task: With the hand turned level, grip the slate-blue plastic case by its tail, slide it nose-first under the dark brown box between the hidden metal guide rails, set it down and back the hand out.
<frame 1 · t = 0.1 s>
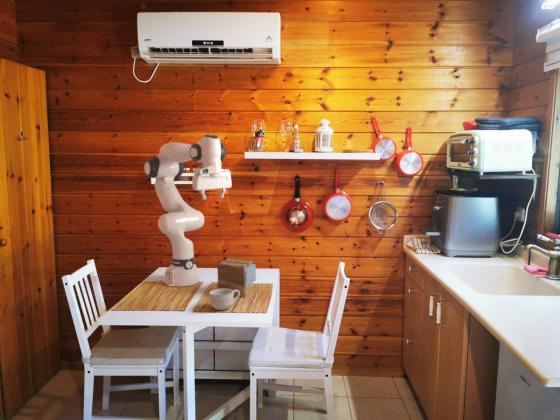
hand: (213, 198, 211), 48 cm above the table, tool pointing down, fingers open, 8 cm apart
dark brown box: (241, 288, 229), on the table
case: (248, 283, 238), on the table
teacup: (225, 308, 202), on the table
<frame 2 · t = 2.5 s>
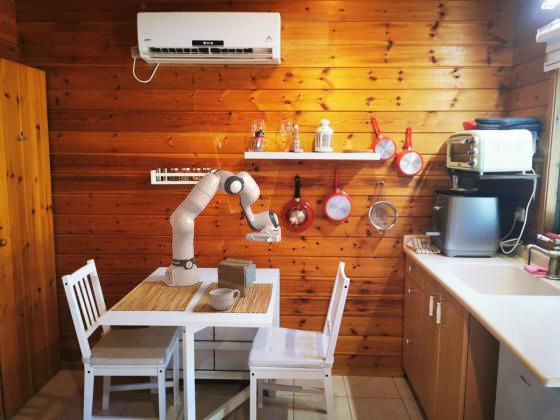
hand: (258, 240, 250), 21 cm above the table, tool horizontal, fingers open, 8 cm apart
nothing on the table moved.
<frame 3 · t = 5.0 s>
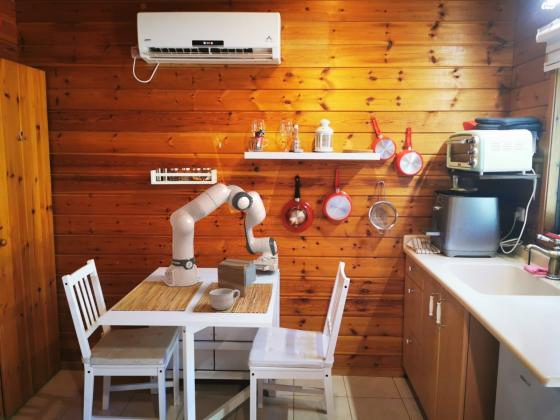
hand: (255, 268, 249), 5 cm above the table, tool horizontal, fingers open, 8 cm apart
nothing on the table moved.
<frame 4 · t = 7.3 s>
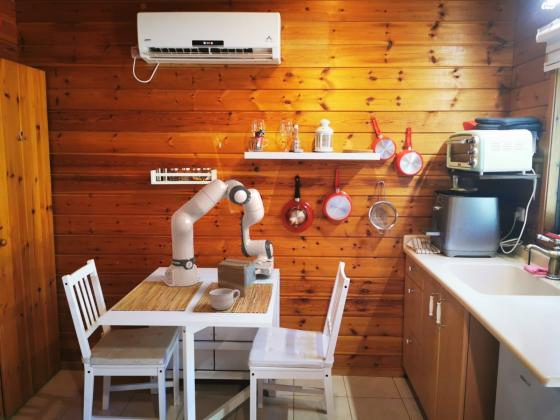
hand: (250, 272, 240), 5 cm above the table, tool horizontal, fingers closed on case, 3 cm apart
case: (248, 283, 238), on the table, touching gripper
everything else where it was.
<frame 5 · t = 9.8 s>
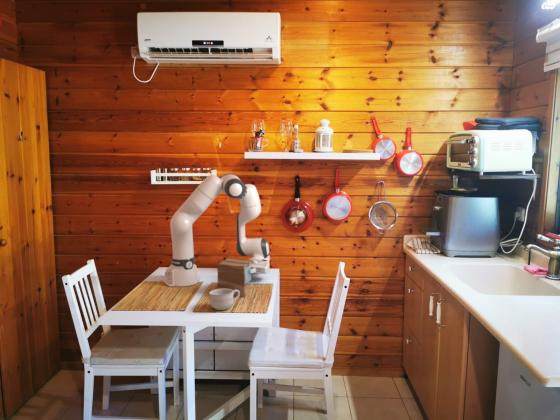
hand: (245, 271, 234), 7 cm above the table, tool horizontal, fingers closed on case, 3 cm apart
case: (243, 283, 232), point 2 cm above the table, touching gripper
everything else where it was.
when the fingers open (6 cm above the table, at t = 12.3 s): case moves 1 cm, on the table.
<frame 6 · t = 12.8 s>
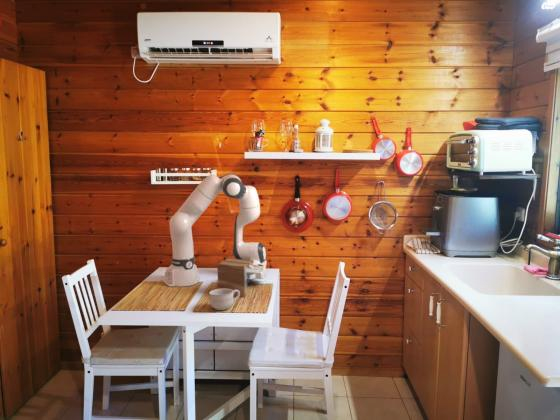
hand: (240, 277, 228), 6 cm above the table, tool horizontal, fingers open, 8 cm apart
case: (238, 290, 226), on the table
everything else where it was.
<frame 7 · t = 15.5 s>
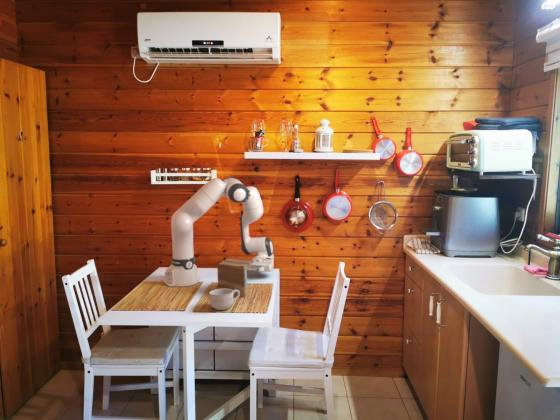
hand: (250, 269, 240), 7 cm above the table, tool horizontal, fingers open, 8 cm apart
nothing on the table moved.
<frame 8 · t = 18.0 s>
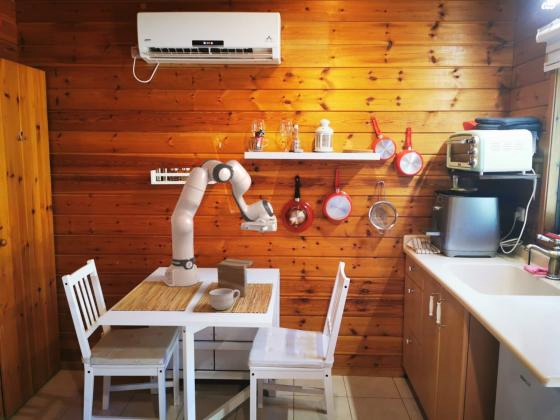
hand: (253, 228, 244), 28 cm above the table, tool horizontal, fingers open, 8 cm apart
nothing on the table moved.
at the end: case 0.2 cm from the target spot on the dark brown box, point 0.0 cm above the dark brown box's base; case tilted 0°; the gripper is holding nothing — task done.
